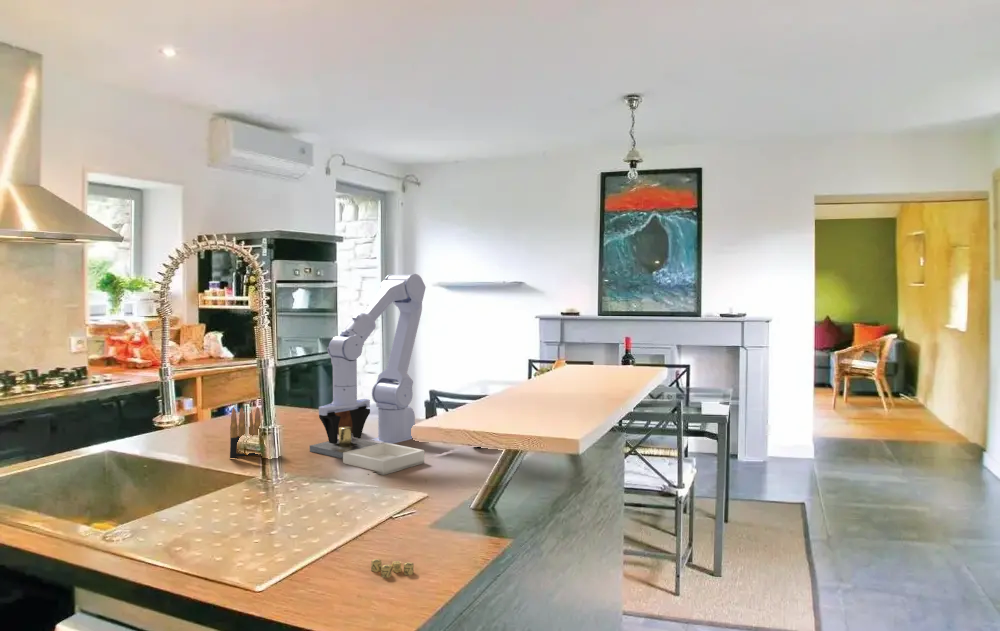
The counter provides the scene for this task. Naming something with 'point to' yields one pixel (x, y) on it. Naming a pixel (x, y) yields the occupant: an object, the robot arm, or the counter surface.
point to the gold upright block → (345, 437)
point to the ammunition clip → (242, 431)
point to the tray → (384, 457)
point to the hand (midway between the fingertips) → (345, 440)
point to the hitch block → (338, 451)
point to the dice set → (387, 568)
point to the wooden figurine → (345, 419)
